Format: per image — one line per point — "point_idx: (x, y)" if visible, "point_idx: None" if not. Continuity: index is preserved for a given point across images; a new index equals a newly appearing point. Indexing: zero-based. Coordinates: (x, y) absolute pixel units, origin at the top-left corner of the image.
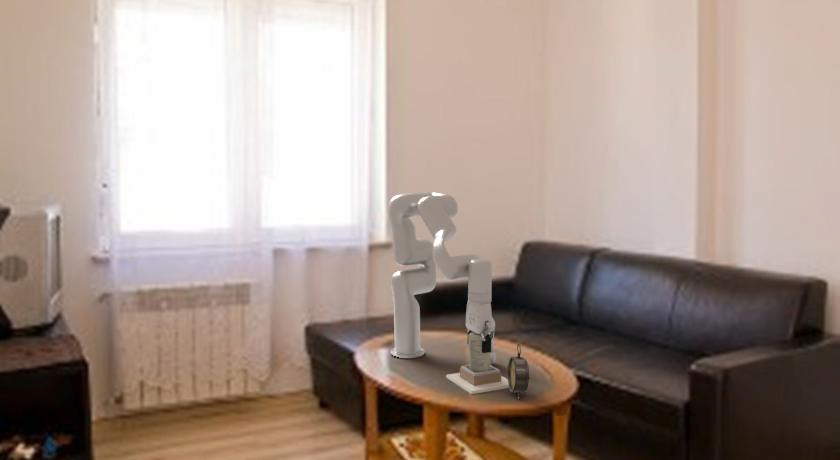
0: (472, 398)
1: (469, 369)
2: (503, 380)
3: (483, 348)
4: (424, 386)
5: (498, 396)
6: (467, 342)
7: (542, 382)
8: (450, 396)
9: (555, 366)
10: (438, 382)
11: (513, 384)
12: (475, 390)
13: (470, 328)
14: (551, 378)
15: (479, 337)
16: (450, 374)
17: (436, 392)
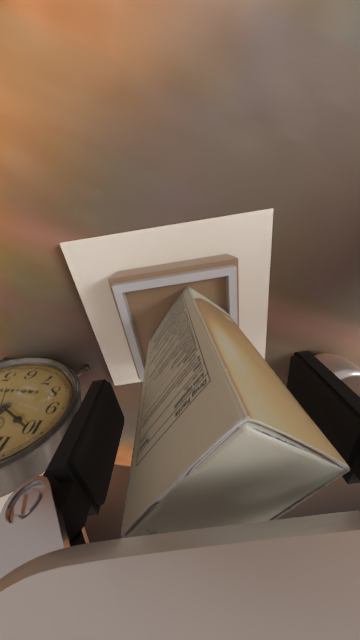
0: (19, 231)
1: (187, 287)
2: None
3: (84, 409)
4: (202, 43)
5: (40, 319)
6: (314, 356)
7: None
8: (43, 142)
9: None
10: (229, 151)
11: (23, 378)
12: (66, 260)
13: (308, 587)
14: None
15: (156, 476)
16: (268, 227)
17: (103, 84)
